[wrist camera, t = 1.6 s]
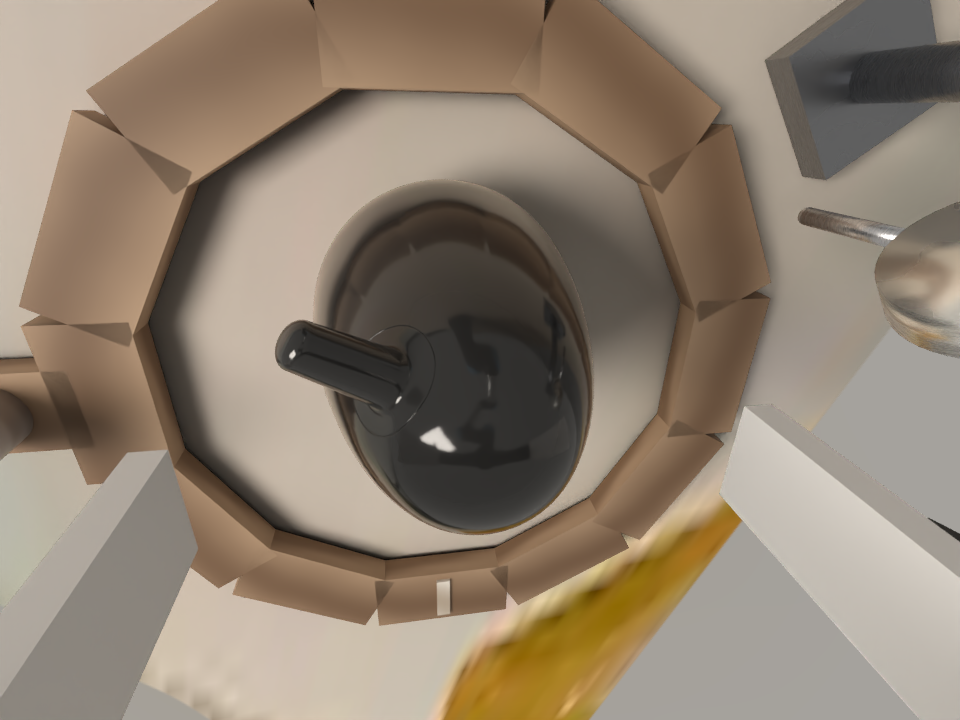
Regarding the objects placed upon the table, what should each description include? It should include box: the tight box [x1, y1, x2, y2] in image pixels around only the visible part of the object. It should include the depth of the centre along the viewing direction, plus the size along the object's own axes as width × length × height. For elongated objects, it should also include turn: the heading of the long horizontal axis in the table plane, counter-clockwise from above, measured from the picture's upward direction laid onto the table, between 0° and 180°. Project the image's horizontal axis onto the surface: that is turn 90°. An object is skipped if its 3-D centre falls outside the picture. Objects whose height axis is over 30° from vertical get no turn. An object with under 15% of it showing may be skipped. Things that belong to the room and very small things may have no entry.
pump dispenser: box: [275, 179, 594, 535], centre depth 17 cm, size 10×10×15 cm
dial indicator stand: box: [765, 0, 960, 358], centre depth 16 cm, size 14×6×16 cm, turn 125°
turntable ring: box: [0, 0, 771, 626], centre depth 22 cm, size 34×38×8 cm
